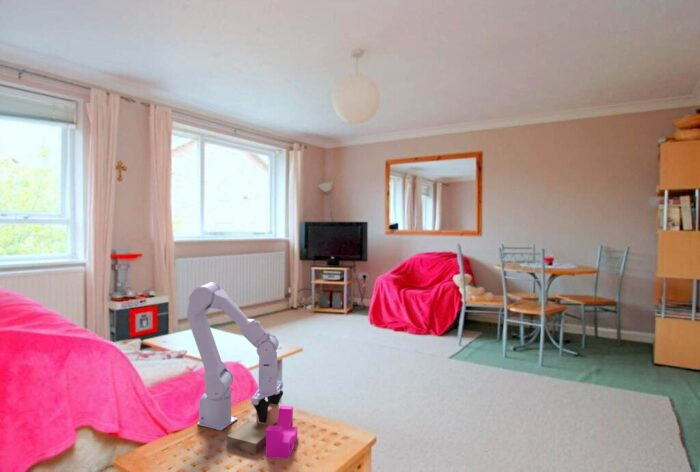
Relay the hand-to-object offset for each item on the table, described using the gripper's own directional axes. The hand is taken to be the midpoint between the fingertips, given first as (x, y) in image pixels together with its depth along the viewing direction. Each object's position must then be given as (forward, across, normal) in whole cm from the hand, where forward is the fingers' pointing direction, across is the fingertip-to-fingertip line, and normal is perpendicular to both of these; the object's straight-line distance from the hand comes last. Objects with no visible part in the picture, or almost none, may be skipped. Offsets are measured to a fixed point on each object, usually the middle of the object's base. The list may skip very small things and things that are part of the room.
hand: (267, 418), depth 131 cm
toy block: (+2, -8, -11) cm, 13 cm away
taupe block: (+2, -11, -2) cm, 11 cm away
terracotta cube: (+1, 0, 0) cm, 1 cm away
